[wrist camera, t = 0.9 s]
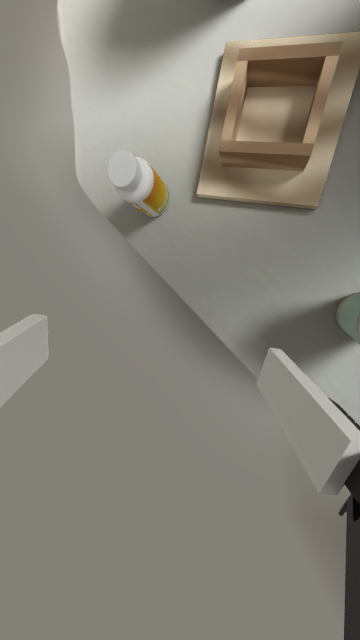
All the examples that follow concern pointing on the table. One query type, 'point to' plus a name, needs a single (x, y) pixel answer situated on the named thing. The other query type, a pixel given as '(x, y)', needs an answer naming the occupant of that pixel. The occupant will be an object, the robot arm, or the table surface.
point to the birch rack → (278, 118)
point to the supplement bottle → (138, 183)
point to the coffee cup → (350, 316)
